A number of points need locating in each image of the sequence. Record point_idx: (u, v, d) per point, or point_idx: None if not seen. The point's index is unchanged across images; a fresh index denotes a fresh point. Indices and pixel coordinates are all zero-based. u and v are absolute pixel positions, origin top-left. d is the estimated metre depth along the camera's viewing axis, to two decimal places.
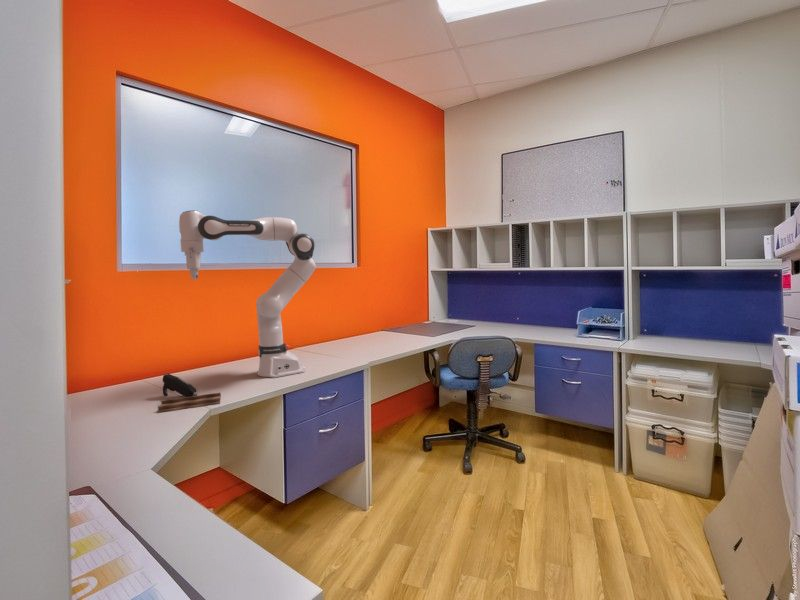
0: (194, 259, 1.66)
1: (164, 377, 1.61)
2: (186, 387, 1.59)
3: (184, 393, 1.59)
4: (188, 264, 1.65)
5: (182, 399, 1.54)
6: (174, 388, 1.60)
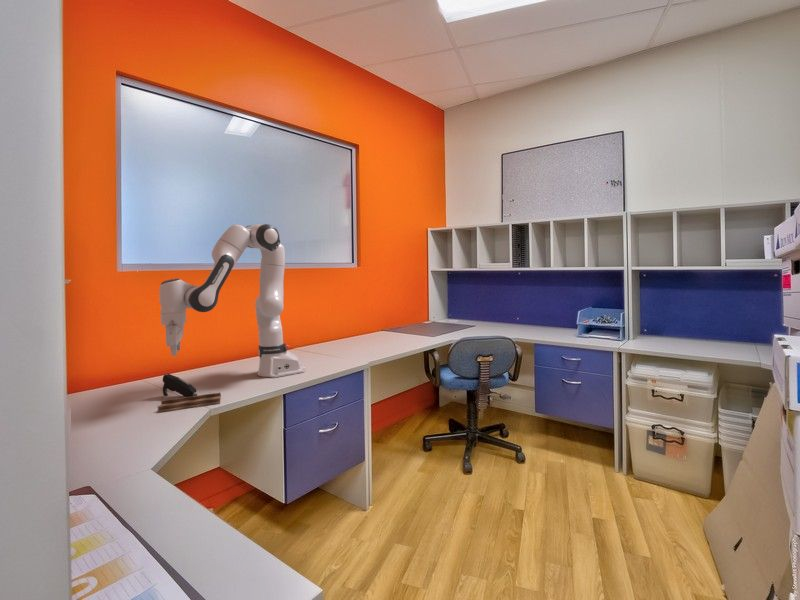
0: (174, 335, 1.50)
1: (164, 377, 1.61)
2: (186, 387, 1.59)
3: (184, 393, 1.59)
4: (168, 341, 1.49)
5: (182, 399, 1.54)
6: (174, 388, 1.60)
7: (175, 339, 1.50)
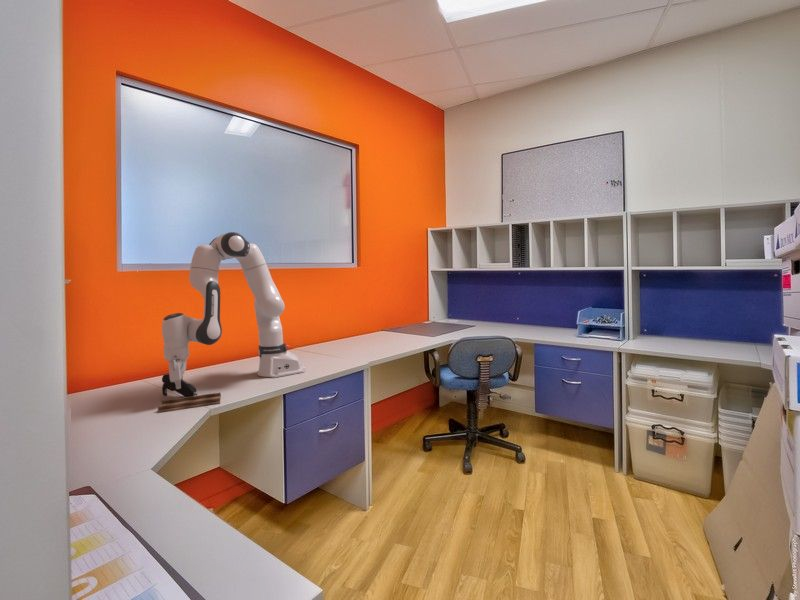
0: (178, 371, 1.52)
1: (163, 377, 1.61)
2: (186, 387, 1.59)
3: (184, 392, 1.59)
4: (171, 378, 1.51)
5: (182, 399, 1.54)
6: (174, 388, 1.60)
7: (178, 375, 1.52)
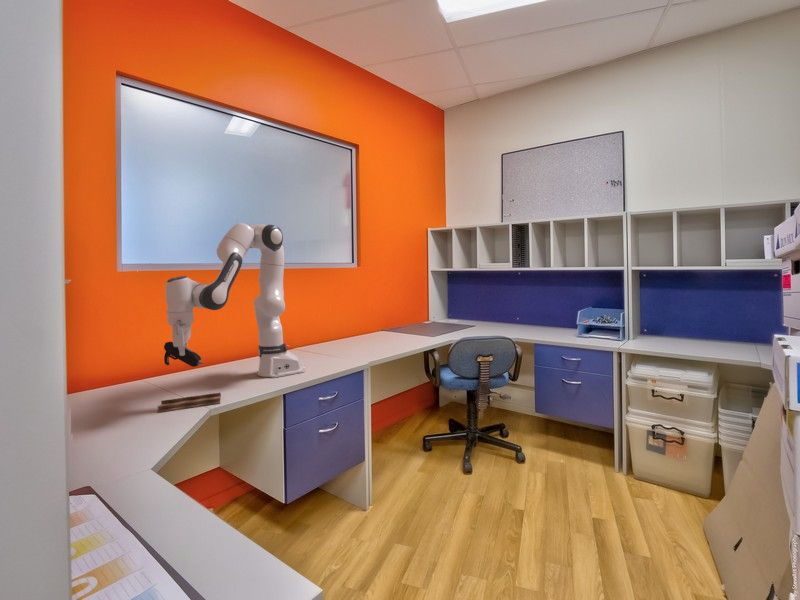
0: (182, 336, 1.43)
1: (166, 345, 1.52)
2: (190, 355, 1.51)
3: (188, 361, 1.51)
4: (174, 342, 1.42)
5: (182, 399, 1.54)
6: (177, 356, 1.52)
7: (182, 339, 1.43)
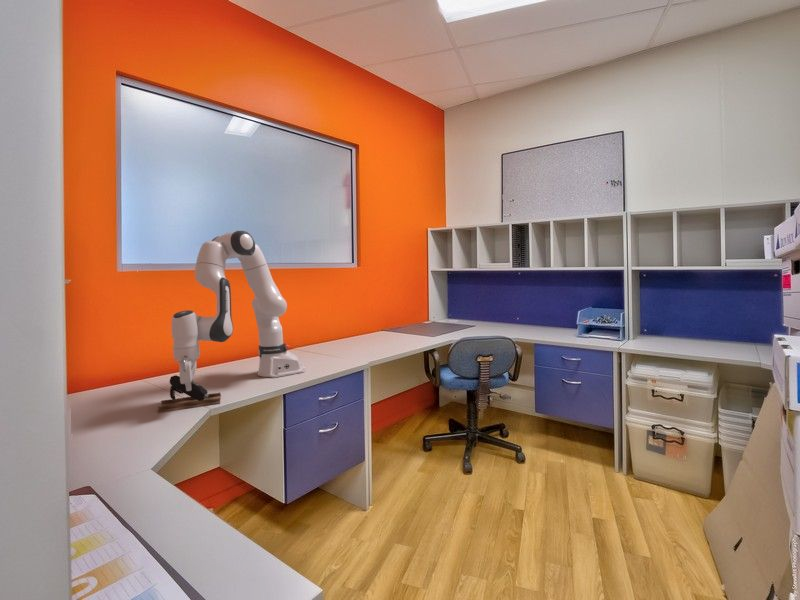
0: (189, 372, 1.42)
1: (171, 379, 1.51)
2: (196, 389, 1.50)
3: (194, 395, 1.50)
4: (182, 379, 1.41)
5: (182, 399, 1.54)
6: (183, 390, 1.51)
7: (189, 376, 1.42)
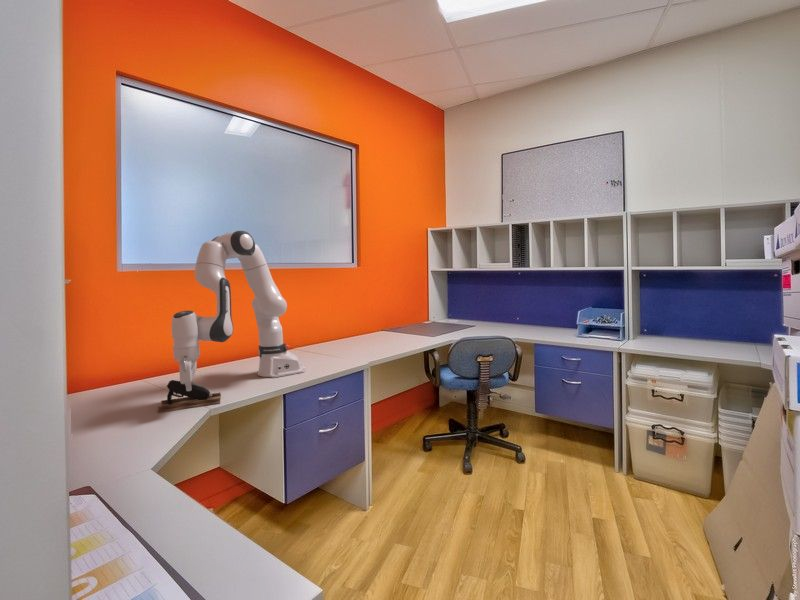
0: (189, 373, 1.42)
1: (170, 384, 1.49)
2: (201, 390, 1.52)
3: (199, 396, 1.52)
4: (182, 379, 1.41)
5: (182, 399, 1.54)
6: (185, 393, 1.51)
7: (189, 376, 1.42)
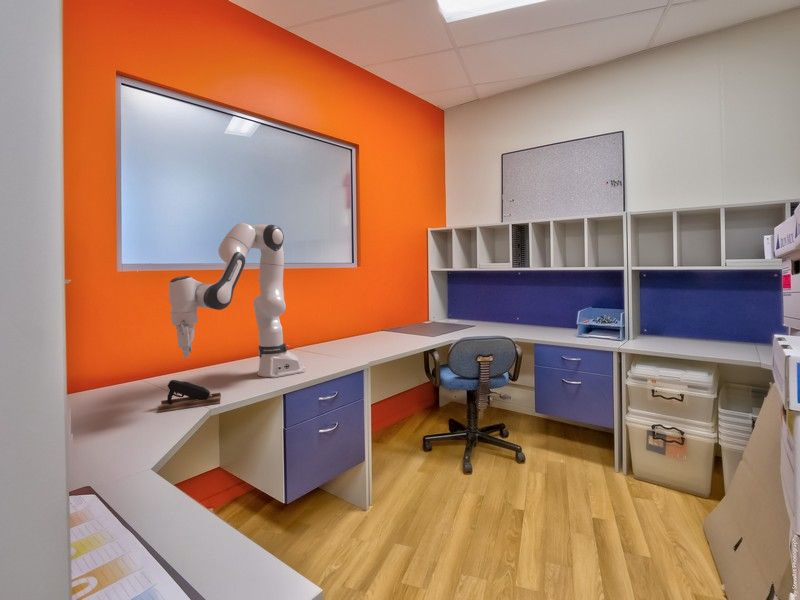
0: (186, 336, 1.42)
1: (171, 383, 1.49)
2: (201, 389, 1.53)
3: (199, 396, 1.52)
4: (179, 343, 1.41)
5: (182, 399, 1.54)
6: (185, 393, 1.51)
7: (187, 340, 1.42)
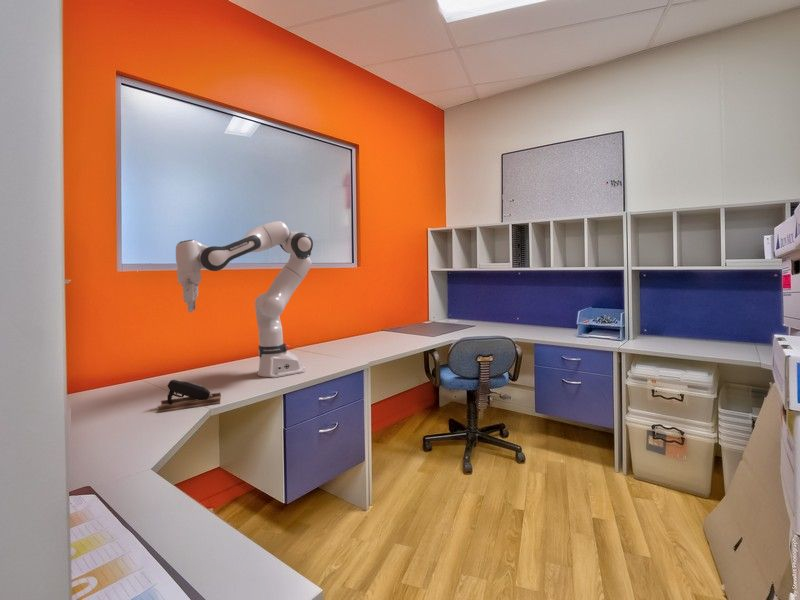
0: (191, 292, 1.58)
1: (171, 383, 1.49)
2: (201, 389, 1.53)
3: (199, 396, 1.52)
4: (185, 297, 1.57)
5: (182, 399, 1.54)
6: (185, 393, 1.51)
7: (192, 295, 1.58)
